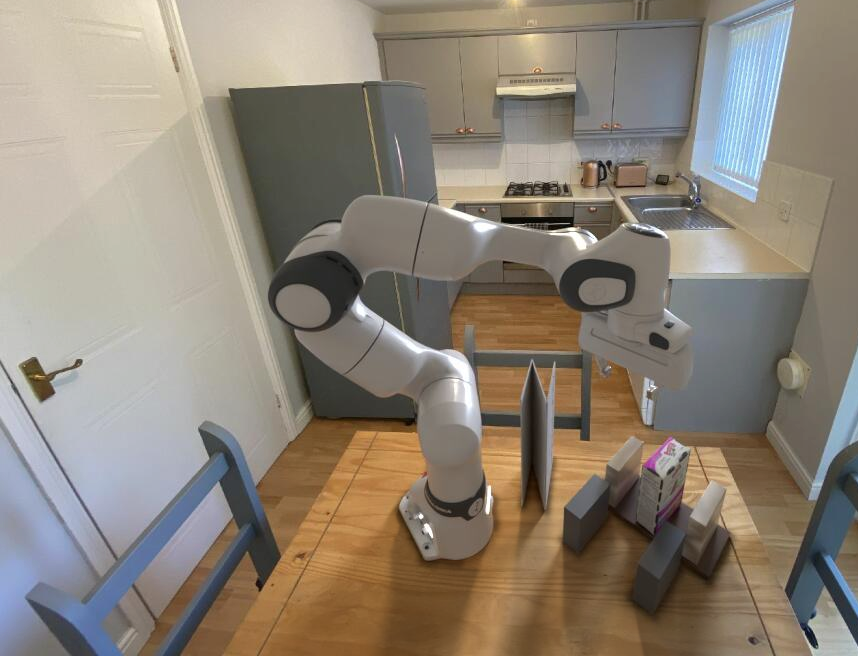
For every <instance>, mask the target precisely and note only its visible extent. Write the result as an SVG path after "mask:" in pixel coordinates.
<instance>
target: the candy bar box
mask: <svg viewBox="0 0 858 656" xmlns="http://www.w3.org/2000/svg"><path fill="white" fill-rule="evenodd" d="M691 452H692V449H691V448H690V447H689V446H687V445H685V444H683V443H682V442H681V441H677V439H676V438H674V437H671V436H670V437H669V438H667V440H666V441H665V442H664V443H663V444H662V445H661V446H660V447H659V448H658V449H656V451H655V452H654V453H653V454H652V455H651V456H649V458H647V460H646V461H644V462H643V463H642V464H641V473H640V477H641V481H640V490H639V498H638V507H637V515H636V521H637V522H638V523H639V524H641V525H642V526H643V527H645V528H646V529H647V530H648V531H649V532H651V533H652V534H653V535H656V534H657V532H658V531H659V530H660V528H661V527H662V525H663V523H664V522H665V520H666V521H667V520H668V519H669V518H670V517H671V516H672V514H673V513H674V512H675V511H676V510H677V508H678V507H679V506H680V505H681V502H682V501H683V497H684V490H685V484H686V480H687V473H688V469H689V468H688V467H689V462H690V458H691V457H690V456H691ZM682 503H683V502H682Z"/></svg>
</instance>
